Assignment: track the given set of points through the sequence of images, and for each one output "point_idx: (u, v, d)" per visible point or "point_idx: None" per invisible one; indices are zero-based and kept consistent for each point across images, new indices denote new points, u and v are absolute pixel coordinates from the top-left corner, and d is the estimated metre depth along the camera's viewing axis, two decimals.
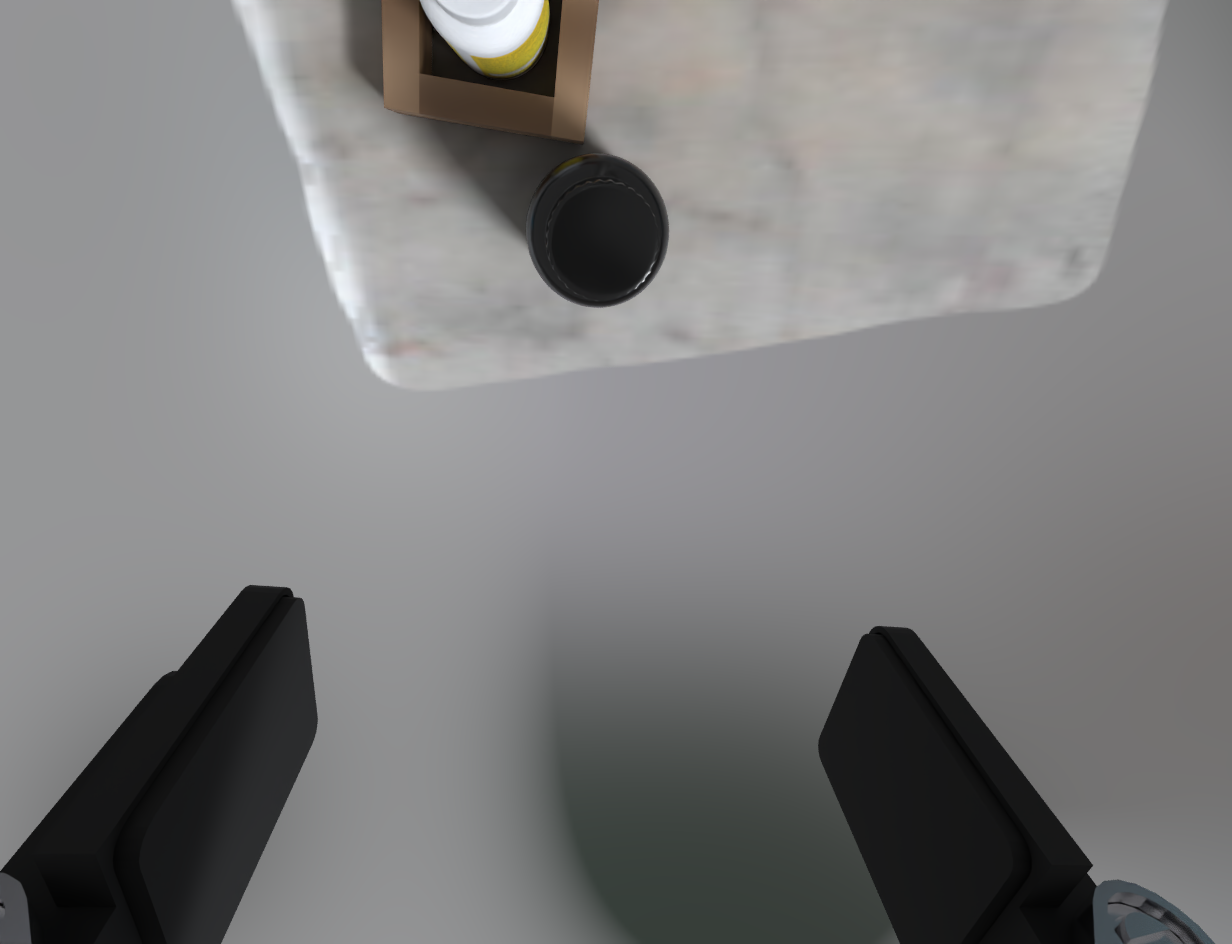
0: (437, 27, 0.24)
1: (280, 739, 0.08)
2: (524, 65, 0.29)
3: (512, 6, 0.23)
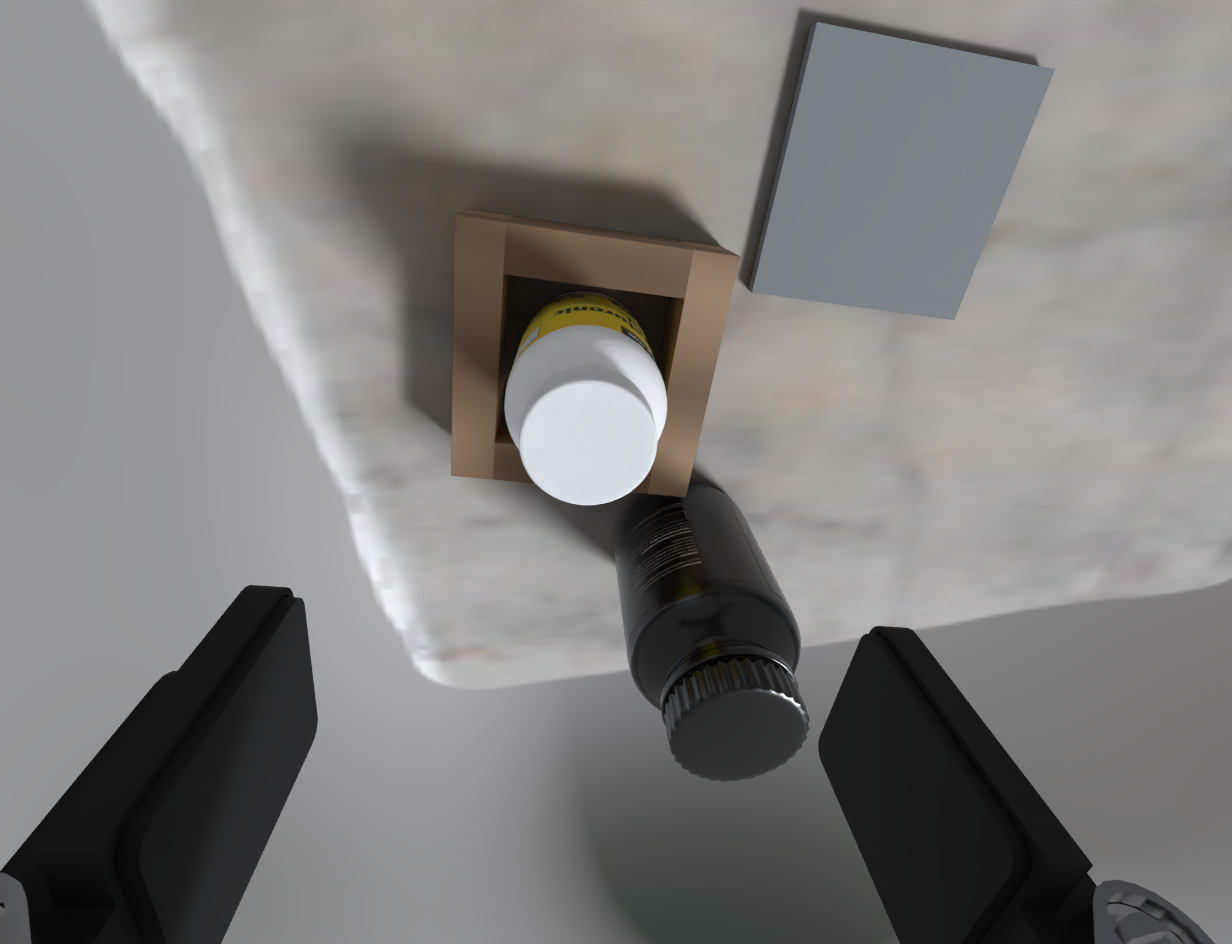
0: None
1: (280, 739, 0.08)
2: None
3: None
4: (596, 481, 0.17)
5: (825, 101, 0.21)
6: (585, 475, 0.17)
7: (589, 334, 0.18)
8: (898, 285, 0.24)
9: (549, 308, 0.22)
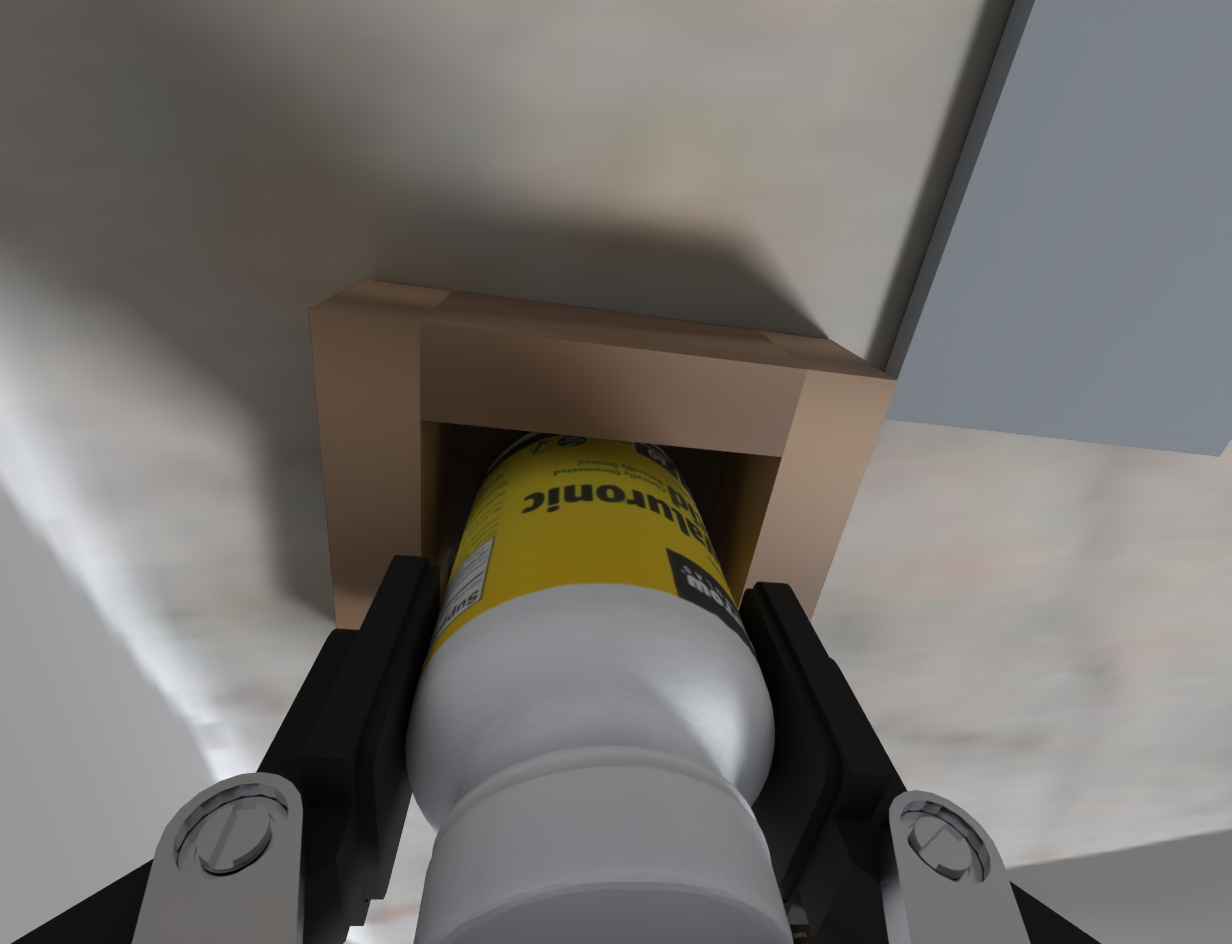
0: None
1: None
2: None
3: None
4: None
5: (1061, 73, 0.11)
6: None
7: (602, 627, 0.07)
8: (1136, 403, 0.14)
9: (518, 470, 0.12)
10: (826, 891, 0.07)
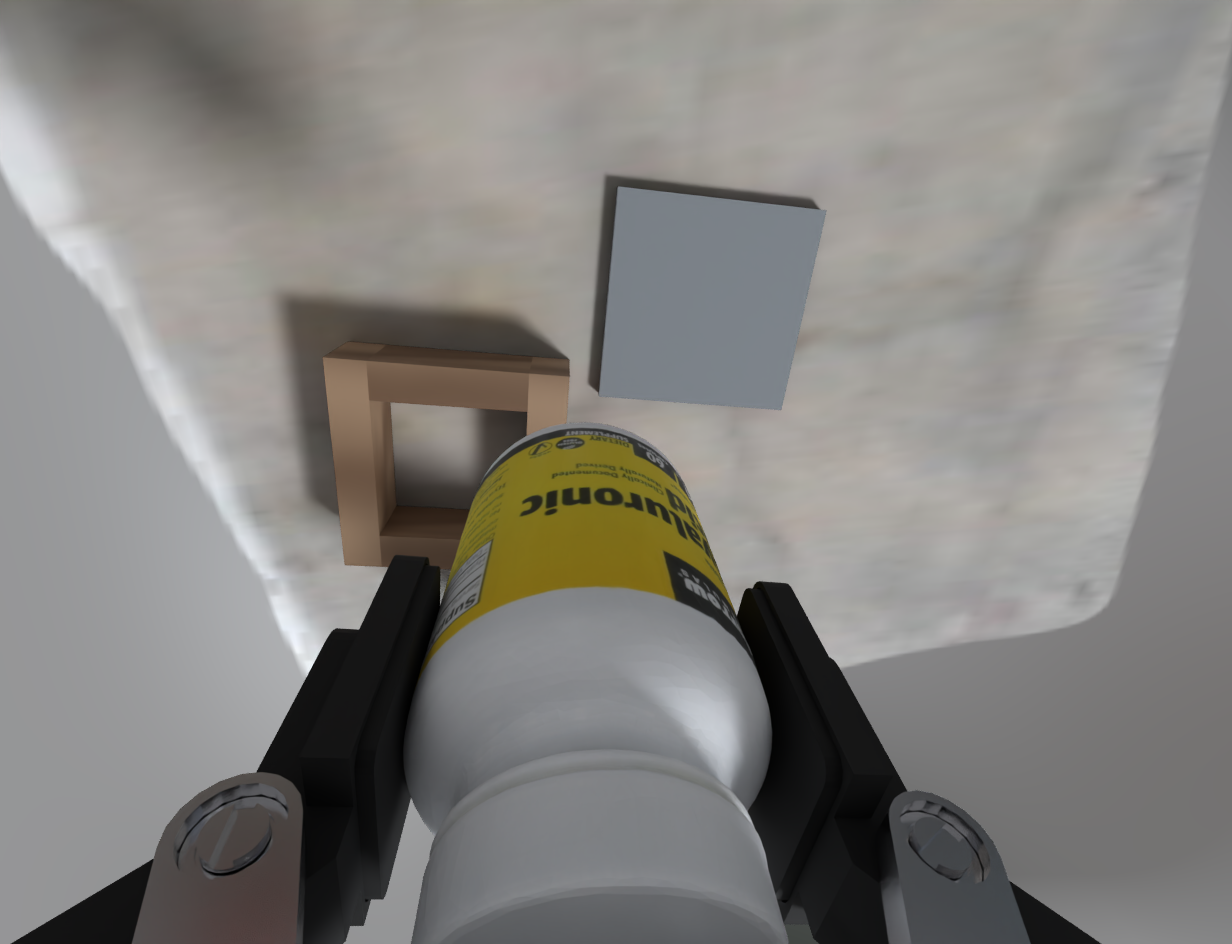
0: None
1: None
2: None
3: None
4: None
5: (636, 245, 0.25)
6: None
7: (599, 631, 0.07)
8: (726, 384, 0.28)
9: (516, 472, 0.12)
10: (826, 891, 0.07)
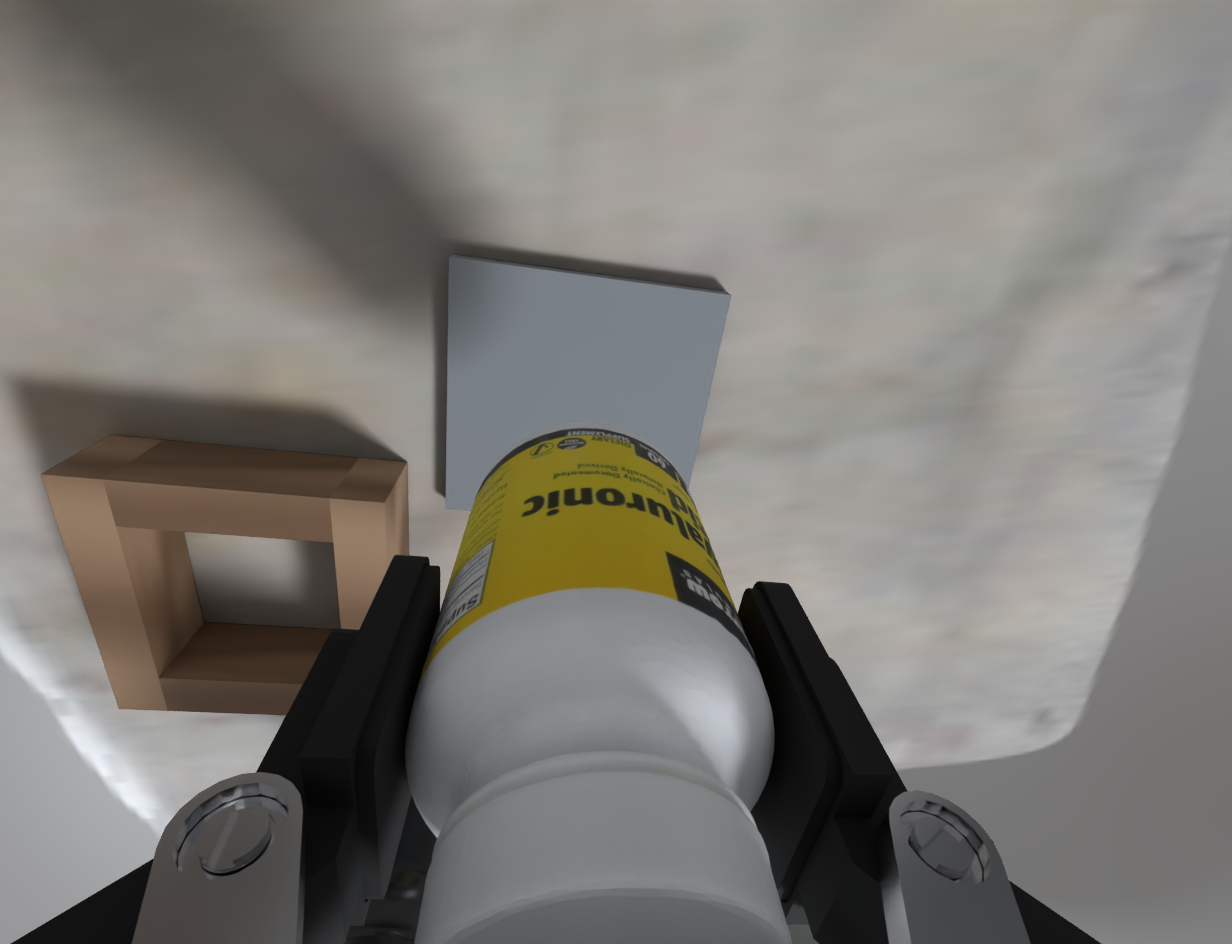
0: None
1: None
2: None
3: None
4: None
5: (479, 331, 0.19)
6: None
7: (601, 632, 0.07)
8: None
9: (518, 473, 0.12)
10: (826, 891, 0.07)
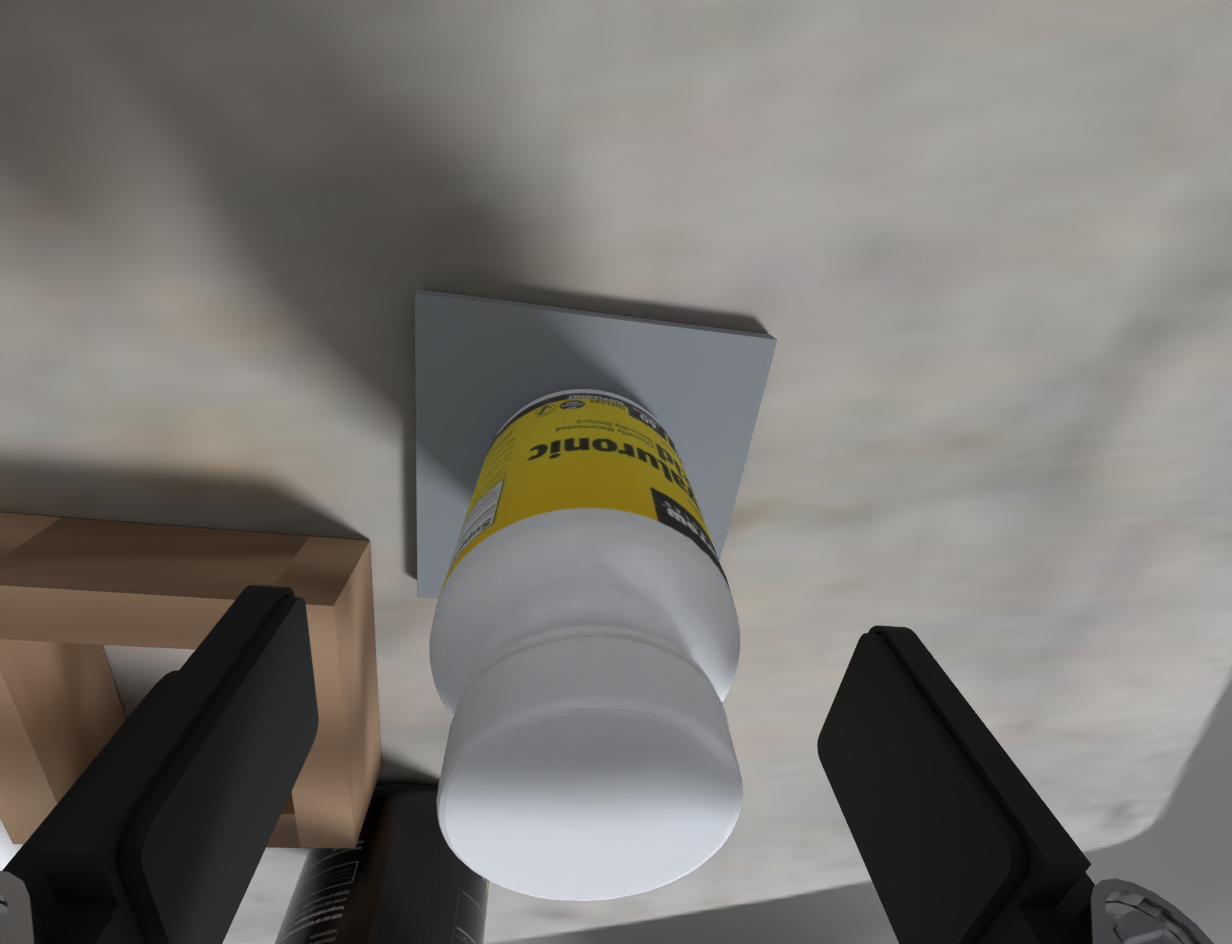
0: None
1: (281, 739, 0.08)
2: None
3: None
4: (609, 866, 0.08)
5: (455, 385, 0.15)
6: (584, 859, 0.08)
7: (593, 539, 0.09)
8: None
9: (524, 429, 0.13)
10: None
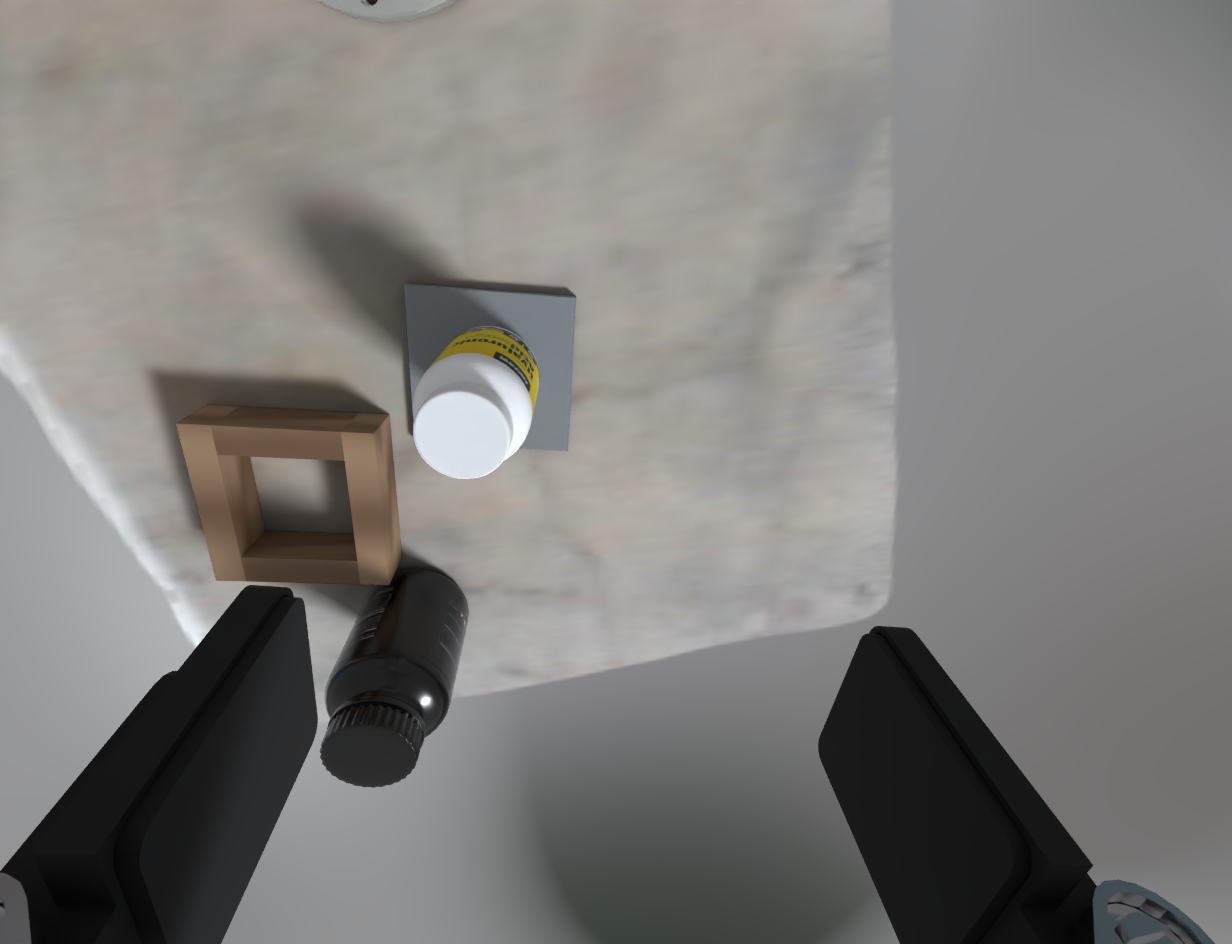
0: None
1: (280, 739, 0.08)
2: None
3: None
4: (471, 461, 0.25)
5: (425, 328, 0.32)
6: (462, 457, 0.24)
7: (465, 359, 0.25)
8: None
9: (454, 340, 0.30)
10: None
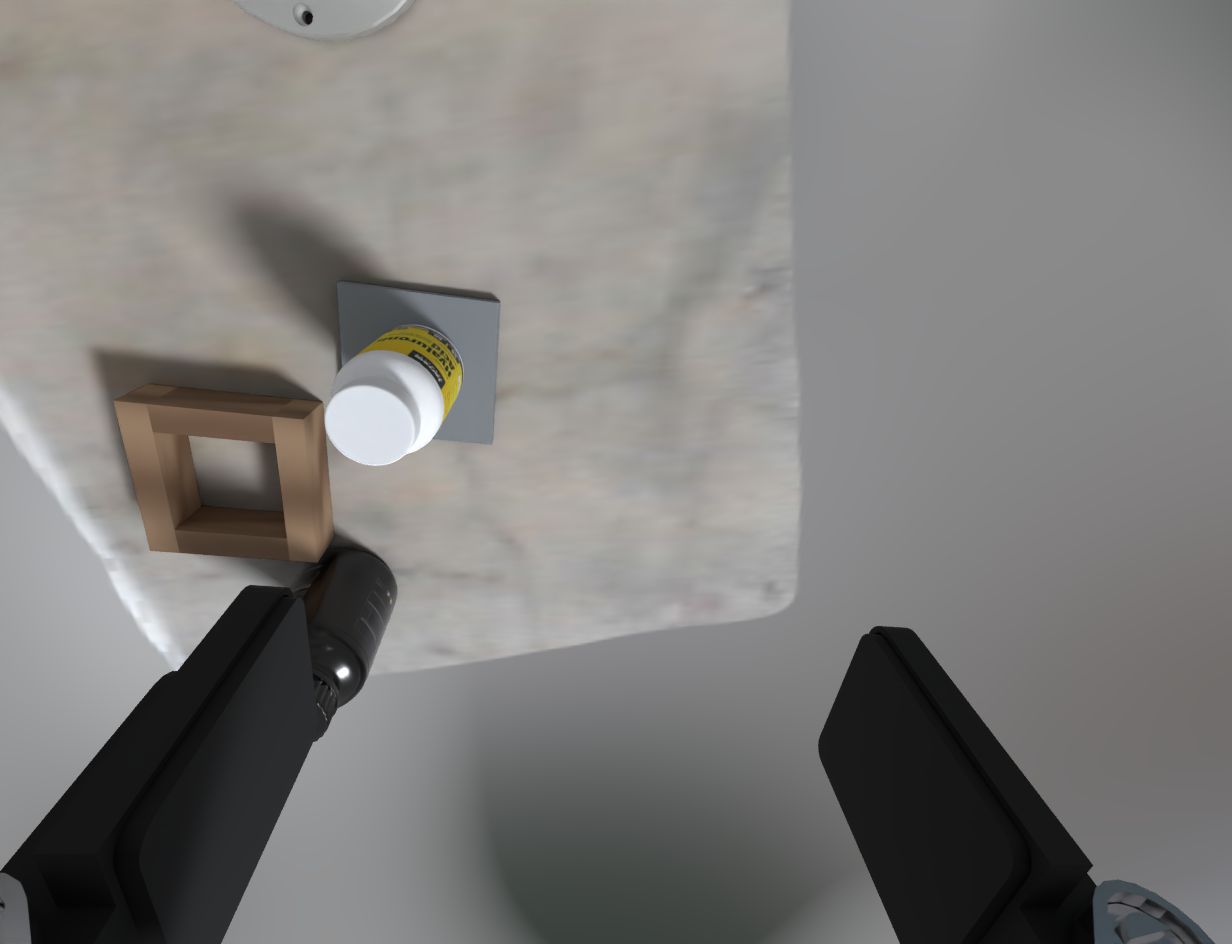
0: None
1: (280, 739, 0.08)
2: None
3: None
4: (378, 449, 0.27)
5: (356, 323, 0.34)
6: (370, 445, 0.27)
7: (379, 356, 0.28)
8: (444, 424, 0.37)
9: (380, 337, 0.32)
10: None
